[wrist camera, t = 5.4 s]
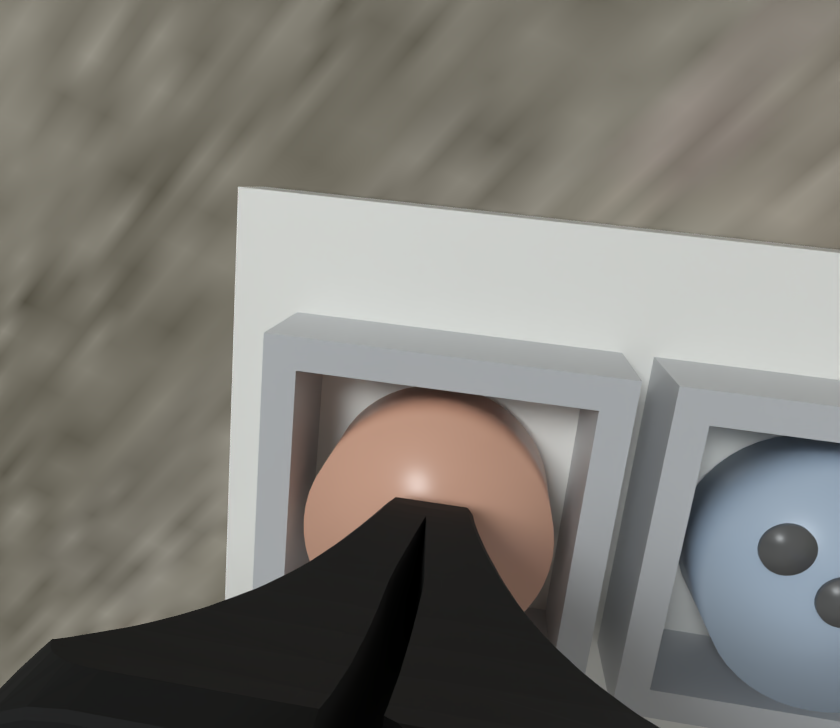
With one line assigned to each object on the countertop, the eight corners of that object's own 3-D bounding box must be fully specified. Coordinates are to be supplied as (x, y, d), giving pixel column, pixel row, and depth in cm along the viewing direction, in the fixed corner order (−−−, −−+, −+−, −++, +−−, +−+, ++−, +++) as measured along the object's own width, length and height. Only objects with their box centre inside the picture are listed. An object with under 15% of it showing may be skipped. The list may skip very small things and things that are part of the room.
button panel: (1227, 793, 16) (1426, 961, 12) (245, 629, 18) (185, 734, 14) (1471, 318, 13) (1820, 367, 9) (264, 186, 15) (193, 187, 11)
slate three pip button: (881, 656, 14) (946, 737, 12) (656, 620, 14) (682, 693, 12) (947, 452, 13) (1033, 502, 11) (701, 419, 13) (738, 462, 11)
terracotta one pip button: (529, 600, 14) (534, 668, 12) (324, 568, 15) (295, 629, 13) (563, 401, 13) (573, 439, 11) (338, 371, 14) (309, 403, 12)
